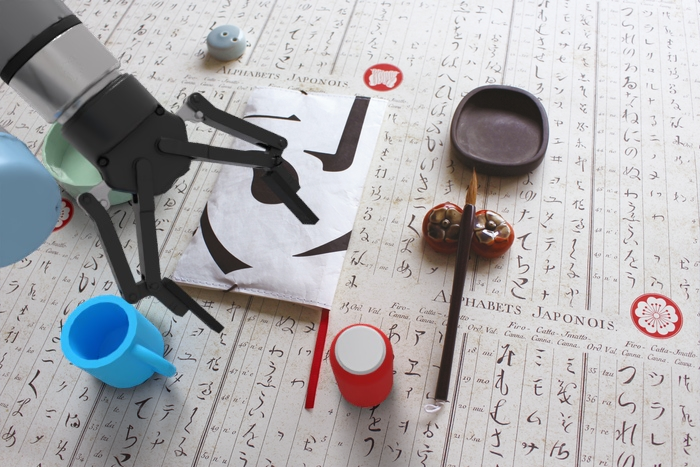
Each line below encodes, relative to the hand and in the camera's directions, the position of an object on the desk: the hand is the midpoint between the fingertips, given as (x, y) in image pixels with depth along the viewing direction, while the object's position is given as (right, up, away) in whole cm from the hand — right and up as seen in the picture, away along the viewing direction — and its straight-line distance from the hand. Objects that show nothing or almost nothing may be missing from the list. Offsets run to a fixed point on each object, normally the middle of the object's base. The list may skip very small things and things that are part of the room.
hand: (266, 273), depth 53 cm
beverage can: (+10, -13, +9) cm, 19 cm away
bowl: (-26, +14, +27) cm, 40 cm away
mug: (-16, -11, +12) cm, 23 cm away
